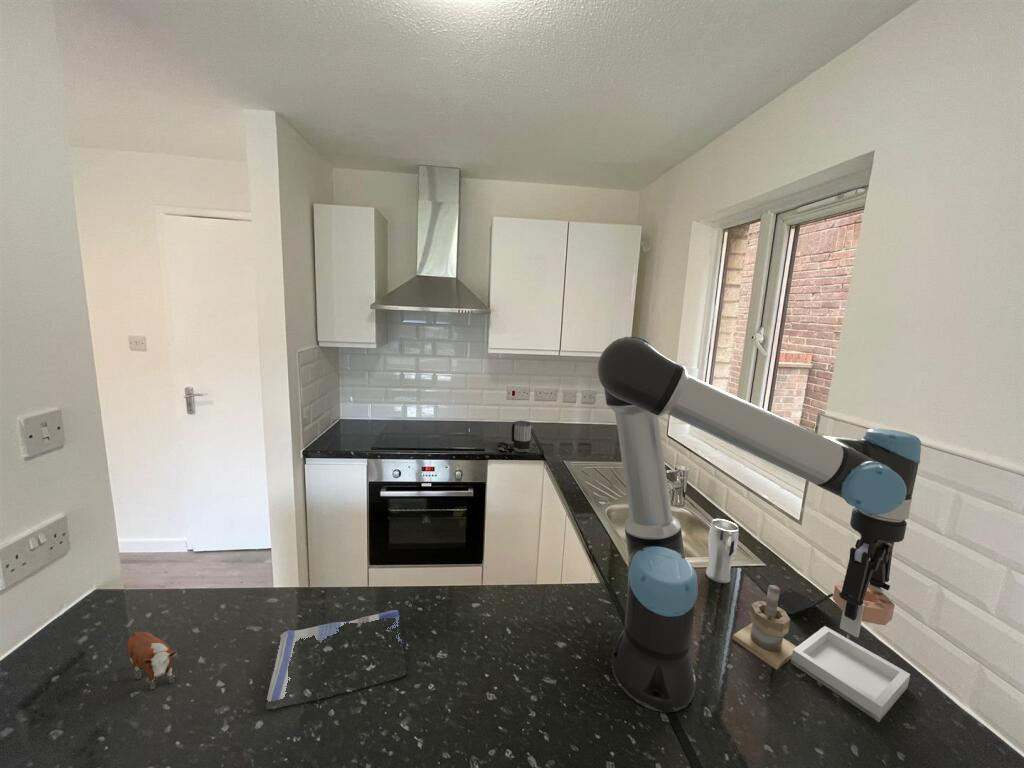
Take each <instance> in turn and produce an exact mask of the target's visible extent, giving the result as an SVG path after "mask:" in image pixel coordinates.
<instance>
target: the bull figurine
mask: <svg viewBox="0 0 1024 768" xmlns="http://www.w3.org/2000/svg"><path fill="white" fill-rule="evenodd" d="M126 649H127V655H128V657H129V661H130V663H132V667H133V668H134V671H135V670H136V671H137V670H139V669H140V670H144V672H145V673H146V676H147V678H148V679H149V683H150V682H153V681H154V680H155V678H158V677H159V678H160V677H161V676H163V675H164V674H165V673H166V675H167V677H168V676H171V675H173V673H172V672H173V668H172V661H173V658H174V655H176V654H177V653H178V652H179V650H178V649H174V650H172V648H171V647H170V645H168V643H167V642H165V641H164V640H162V639H160V638H158V637H156V636H155V635H154V634H152V633H150V632H147V631H135V632H134V633H133V635H132V636H131V637H130V638H129V639H128V641H127V644H126Z"/></svg>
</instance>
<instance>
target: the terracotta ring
mask: <svg viewBox="0 0 1024 768" xmlns="http://www.w3.org/2000/svg"><path fill="white" fill-rule="evenodd" d="M843 583H844V580H841V581H839V582H838V583H836V584H835V585H834V590H833V596H832V600H833V601H834V602H835V604H836V605H837V606H838V608H840V610H841V612H843V606H844V599H842V598H840V596H839V592H840V593H841V591H842V587H843ZM863 604H865V606H864V611H863V616H862V622H863V623H864V622H865V623H870V624H875V625H880V626H886V625H887V624H888V623H889V622H891V621H892V619H893V616H894V612H895V611H894V610H895V603H894V602H893V601H892V600H891V599H890V598H889V597H887V595H886V594H885V593H882V592H879V591H877V590H875V589H873V588H870V587H868V588H867V591H866V594H865V597H864V600H863Z"/></svg>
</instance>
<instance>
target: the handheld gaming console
mask: <svg viewBox="0 0 1024 768" xmlns="http://www.w3.org/2000/svg"><path fill="white" fill-rule="evenodd" d="M833 595H834V592H833V593H830V594H827V595H826V596H823V597H821V598H819V599H816V600H815V599H813V600H812V599H810V598H808V597H806V596H805V595H803V594H801V593H799V592H797V591H796V590H794V589H792V588H788V589H786V590H784V591H783V592H781V593H779V599H778V605H777V606H778V607H779V608H781V609H783V610H784V611H785V612H786V613H787V615H788V617H789V618H790V619H792V620H793V619H795V618H796V617H797V616H799V615H801V614H803V613H805V612H806V611H808V610H811V609H814V608H815V607H816V606H818V605H820V604H822V603H824V602H825V601H826V600H829V599H830V598H831V597H832V598H833Z"/></svg>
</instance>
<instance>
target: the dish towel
mask: <svg viewBox="0 0 1024 768" xmlns="http://www.w3.org/2000/svg"><path fill="white" fill-rule="evenodd" d="M399 617H400V612H399V610H397V609H393V610H388V611H384V612H381V613H377V614H373V615H367V616H362V617H359V619H358V618H357V619H354V620H353V619H352V620H349V621H336V622H330V623H329V622H328V623H323V624H319V625H317V626H312V627H307V628H303V629H297V630H292V629H290V630H289V629H288V630H287V631H284V632H283V633H281V634H280V636H279V637H280V641H279V644H280V645H278V648H279V649H277V652H278V653H276V657H277V658H275V661H274V666H275V667H273V670H274V671H272V675H271V677H270V678H271V679H270V682H269V683H270V684H269V688H268V692H267V696H266V700H268V702H269V701H270V702H271V701H273V702H274V701H276V700H280V699H283V698H284V697H285V694H286V693H287V692H285V691H286V688H287V687H286V686H287V683H288V680H289V681H290V679H291V678H290V677H288V666H289V661H290V660H291V659H290V658H291V657H292V653H294V652H293V648H294V645H295V642H296V641H297V640H299V639H300V638H301V639H302V638H303V639H304V638H305V639H306V638H308V637H309V638H310V637H312V636H313V635H314V636H315V638H316V640H319V641H320V643H321V642H322V640H324V639H326V638H327V636H331V635H333V634H336V633H337V632H336V631H338V632H339V629H338V628H339V627H341V626H343V625H344V623H345V624H346V623H349V624H350V623H363V622H364V623H366V622H371V621H375V620H379V619H382V618H395V619H396V621H395V622H396V623H397V624H396V623H395V622H394V623H395V624H396V625H395V624H394V623H393V624H394V625H392V626H391V627H392V629H393V628H396V626H397V627H398V626H399V625H398V623H399V622H398V620H399ZM394 626H395V627H394ZM391 627H390V628H389V627H388V628H389V629H391ZM336 628H337V629H336ZM388 628H387V629H388ZM397 633H398V632H397ZM399 634H400V633H399ZM399 634H398V638H397V635H396V638H397V639H398V642H399V641H401V643H402V639H400V637H399ZM323 638H324V639H323ZM305 639H304V640H305ZM319 641H318V642H319ZM324 642H325V641H324ZM400 646H401V645H400ZM288 678H289V679H288ZM332 683H333V682H332Z"/></svg>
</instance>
